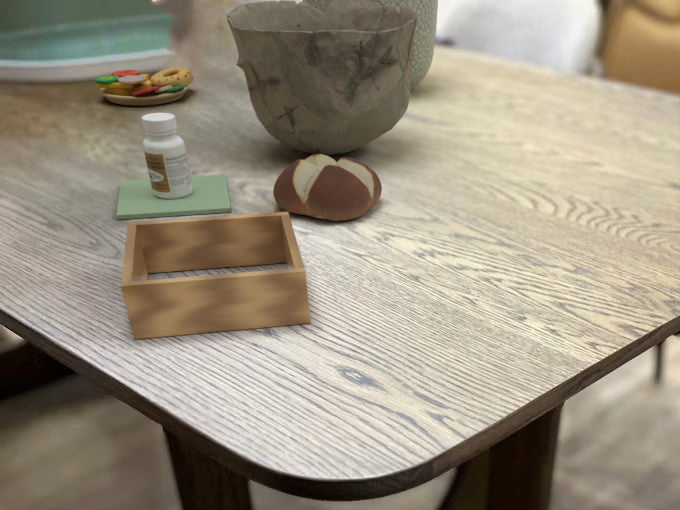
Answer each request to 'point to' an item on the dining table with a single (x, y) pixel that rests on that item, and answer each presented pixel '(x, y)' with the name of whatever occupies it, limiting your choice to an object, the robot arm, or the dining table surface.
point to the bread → (327, 188)
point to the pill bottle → (166, 157)
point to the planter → (424, 42)
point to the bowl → (325, 70)
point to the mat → (202, 200)
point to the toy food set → (145, 86)
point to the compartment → (213, 290)
